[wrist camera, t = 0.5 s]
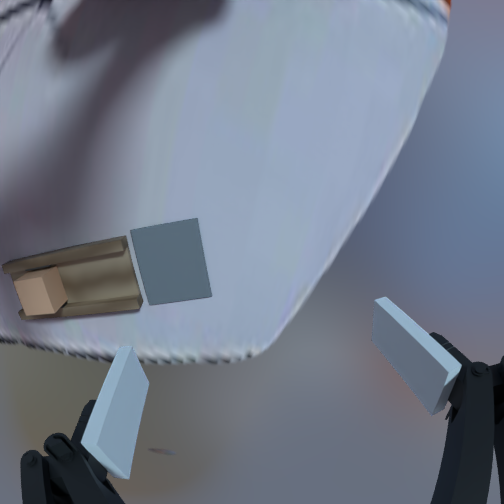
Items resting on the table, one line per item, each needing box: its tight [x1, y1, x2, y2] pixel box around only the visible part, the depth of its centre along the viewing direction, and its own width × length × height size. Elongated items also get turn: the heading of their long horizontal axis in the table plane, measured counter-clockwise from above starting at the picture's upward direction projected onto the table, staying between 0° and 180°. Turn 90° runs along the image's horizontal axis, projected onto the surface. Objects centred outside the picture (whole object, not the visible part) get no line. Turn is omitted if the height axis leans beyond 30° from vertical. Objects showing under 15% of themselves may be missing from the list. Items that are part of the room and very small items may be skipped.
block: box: [14, 266, 68, 316], centre depth 36 cm, size 6×7×5 cm
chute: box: [2, 236, 143, 320], centre depth 38 cm, size 11×26×2 cm, turn 97°
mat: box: [131, 218, 212, 305], centre depth 40 cm, size 12×10×1 cm
